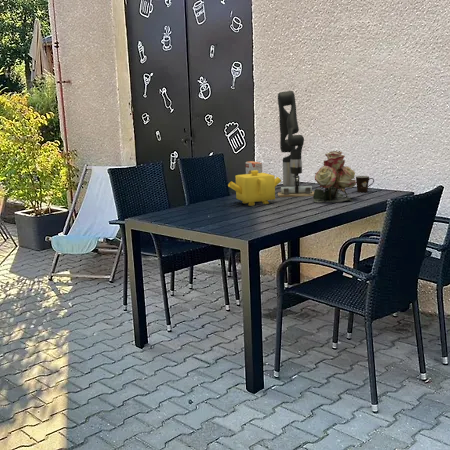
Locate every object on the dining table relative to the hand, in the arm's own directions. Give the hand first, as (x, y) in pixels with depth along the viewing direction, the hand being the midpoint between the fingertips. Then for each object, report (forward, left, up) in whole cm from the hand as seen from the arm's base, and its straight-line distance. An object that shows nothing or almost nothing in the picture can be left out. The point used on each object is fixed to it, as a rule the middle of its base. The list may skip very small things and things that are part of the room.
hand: (296, 192), depth 383 cm
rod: (0, 0, +2) cm, 2 cm away
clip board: (0, 0, -2) cm, 2 cm away
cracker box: (-17, -27, -2) cm, 32 cm away
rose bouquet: (+21, +22, -2) cm, 30 cm away
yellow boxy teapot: (+22, -28, -2) cm, 36 cm away
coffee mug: (-3, +45, -2) cm, 45 cm away
